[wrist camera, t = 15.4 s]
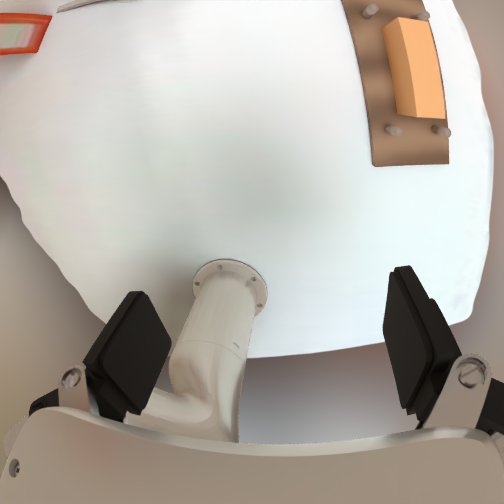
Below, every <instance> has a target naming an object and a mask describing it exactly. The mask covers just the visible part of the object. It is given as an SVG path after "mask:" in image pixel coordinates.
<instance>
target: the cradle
mask: <svg viewBox="0 0 504 504" xmlns="http://www.w3.org/2000/svg"><path fill="white" fill-rule="evenodd" d="M341 1H342V4H343V7H344V10H345V13H346V17H347V20H348V23H349V27H350V31H351V34H352V38H353V42H354V46H355V50H356V55H357V59H358V64H359V69H360V74H361V79H362V84H363V90H364V96H365V102H366V109H367V116H368V123H369V131H370V141H371V151H372V163H373V166H374V167H384V166H403V165H431V164H449V139H448V137H450V135H451V131H450V129H448V122H447V111H446V101H445V93H444V86H443V80H442V74H441V68H440V63H439V58H438V54H437V49H436V45H435V41H434V37H433V33H432V30H431V26H430V23H429V20H428V18H430V14H429V13H428V12H427V11H426V10H425V7H424V4H423V2H422V0H341ZM397 17H401V18H408V19H414V20H420V21H425V22H428V23H429V27H430V30H431V34H432V38H433V42H434V46H435V51H436V55H437V60H438V65H439V71H440V77H441V83H442V90H443V98H444V107H445V119H441V118H425V117H413V116H406V115H400V114H397V108H396V100H395V93H394V86H393V80H392V74H391V69H390V64H389V59H388V54H387V50H386V45H385V41H384V37H383V33H382V28H383V27H385V26H386V25H387V24H389V23H390V22H392V21H393V20H394V19H396V18H397Z"/></svg>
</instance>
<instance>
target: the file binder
mask: <svg viewBox="0 0 504 504" xmlns="http://www.w3.org/2000/svg"><path fill="white" fill-rule="evenodd" d="M51 17H52V16H48V15H38V14H23V13H0V55H7V54H19V53H37V52H38V50H39V47H40V44H41V42H42V39H43V37H44V34H45V32H46V30H47V27H48V25H49V23H50V21H51Z"/></svg>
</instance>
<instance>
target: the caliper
mask: <svg viewBox="0 0 504 504" xmlns="http://www.w3.org/2000/svg"><path fill="white" fill-rule="evenodd" d="M96 1H100V0H75V1H73V2H70V3H67V4H65V5H62V6H59V8H58V10H57V13H59V12H63V11H67V10H70V9H73V8H76V7H79V6H82V5H85V4H89V3H93V2H96Z"/></svg>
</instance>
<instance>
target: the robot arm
mask: <svg viewBox="0 0 504 504" xmlns="http://www.w3.org/2000/svg"><path fill="white" fill-rule="evenodd" d="M193 294H194V296H195V301H194V303H193V306H192V308H191V310H190V312H189V315H188V317H187V319H186V322H185V324H184V326H183V329H182V331H181V333H180V336H179V338H178V340H177V343H176V345H175V348H174V350H173V352H172V355H171V358H170V362H169V375H170V380H171V383H172V386H173V389H174V391H175V393H176V395H175V394H172V393H169V392H165V391H162V390H160V389H157V388H155V387H154V386H155V384H156V381H157V379H158V376H159V374H160V372H161V369H162V367H163V365H164V362H165V359H166V357H167V355H168V353H169V350H170V348H171V339H170V337H169V335H168V333H167V331H166V329H165V328H164V326H163V324H162V322H161V320H160V318H159V316H158V314H157V312H156V310H155V308H154V306H153V305H152V303H151V301H150V298H149V297H148V295H146V294H145V293H144V292H143V291H131V292H129V293H128V294H127V296H126V297H125V298H124V300H123V301H122V303H121V304H120V305H119V307H118V308H117V310H116V311H115V313H114V314H113V316H112V317H111V319H110V320H109V321H108V323H107V324H106V326H105V327H104V329H103V331H102V332H101V334H100V335H99V337H98V338H97V340H96V341H95V343H94V344H93V346H92V347H91V349H90V351H89V352H88V354H87V355H86V357H85V359H84V361H83V363H84V365H85V366H86V369H85V370H84V368H82V366H79V365H74V366H71V367H69V368H67V369H66V370H65V371H64V372H63V373H62V375H61V376H60V378H59V382H58V388H57V389H55V390H54V391H52V392H50V393H48V394H46V395H44V396H42V397H40V398H38V399H37V400H35V401H34V402H33V403H32V404H31V406H30V410H29V415H28V414H27V415H26V416H25V417H24V418H23V419H22V420H20V421H19V422H18V423H17V424H16V425H15V426H14V427H13V428H12V429H11V430H10V431H9V432H7V434H6V435H5V437H4V441H3V445H4V449H5V453H6V456H7V459H8V460H7V462H6V465H5V468H4V470H3V473H2V476H1V479H0V504H504V383H502V382H500V381H498V380H495V379H493V378H491V374H492V373H491V368H490V366H489V364H488V362H487V361H486V360H485V359H484V358H483V357H481V356H479V355H477V354H472V353H471V354H464V355H462V354H461V352H460V349H459V347H458V345H457V343H456V340H455V338H454V336H453V334H452V332H451V330H450V328H449V326H448V324H447V322H446V320H445V318H444V316H443V314H442V312H441V310H440V308H439V307H438V305H437V303H436V301H435V300H434V299H432V298H431V299H429V297H428V295H427V293H426V291H425V290H424V288H423V286H422V284H421V282H420V281H419V279H418V277H417V276H416V274H415V272H414V270H413V269H412V267H411V266H409V265H408V266H401V267H396V268H395V269H394V272H390V275H389V284H388V293H387V301H386V308H385V315H384V321H383V335H384V339H385V342H386V346H387V349H388V353H389V357H390V361H391V364H392V369H393V373H394V377H395V381H396V385H397V390H398V394H399V399H400V403H401V407H402V409H405V408H406V411H407V415H411V414H415V413H416V416H417V420H419V423H418V425H417V426H416V428H415V430H412V431H406V432H401V433H395V434H388V435H383V436H377V437H371V438H364V439H356V440H347V441H338V442H327V443H313V444H248V443H239V434H238V432H239V431H238V430H239V428H238V415H239V402H240V393H241V387H242V381H243V376H244V370H245V363H246V359H247V353H248V347H249V342H250V336H251V331H252V325H253V319H254V317H255V316H256V315H257V314H259V313H260V312H261V311H262V309H263V308H264V306H265V304H266V299H267V289H266V285H265V283H264V281H263V279H262V278H261V276H260V275H259V274H258V273H257V272H256V271H255V270H254V269H252V268H251V267H249V266H248V265H245V264H243V263H241V262H237V261H234V260H217V261H213V262H210V263H208V264H206V265H204V266H203V267H202V268H201V269H200V270H199V271H198V272H197V274H196V276H195V278H194V281H193Z"/></svg>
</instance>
